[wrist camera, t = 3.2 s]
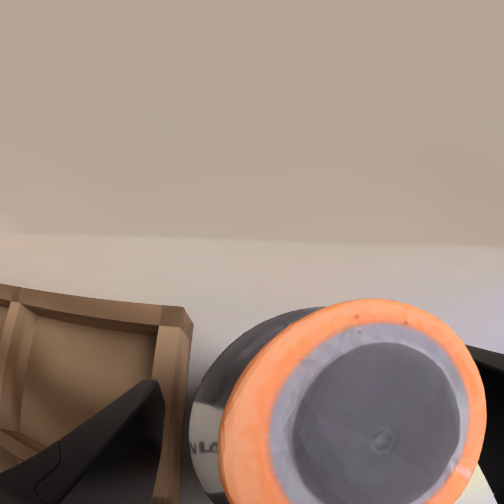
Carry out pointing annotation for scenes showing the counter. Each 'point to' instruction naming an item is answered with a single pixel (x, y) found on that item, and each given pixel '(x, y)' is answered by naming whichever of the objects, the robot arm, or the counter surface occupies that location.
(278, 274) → the counter surface
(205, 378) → the pill bottle
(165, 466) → the socket frame
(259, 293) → the counter surface
